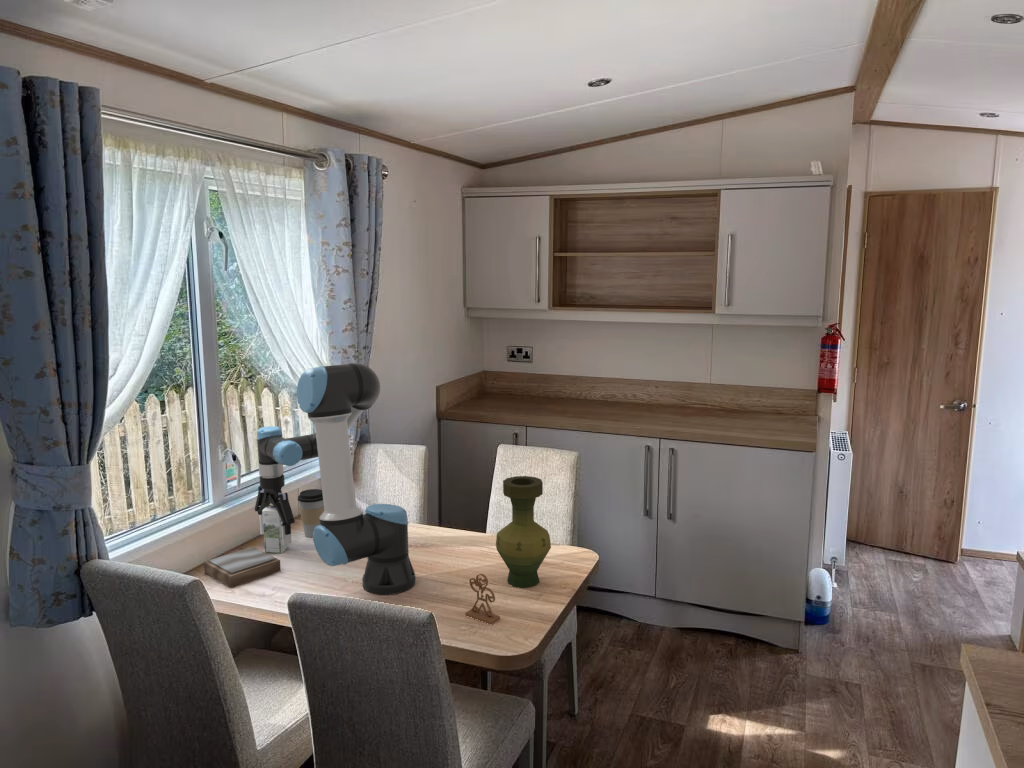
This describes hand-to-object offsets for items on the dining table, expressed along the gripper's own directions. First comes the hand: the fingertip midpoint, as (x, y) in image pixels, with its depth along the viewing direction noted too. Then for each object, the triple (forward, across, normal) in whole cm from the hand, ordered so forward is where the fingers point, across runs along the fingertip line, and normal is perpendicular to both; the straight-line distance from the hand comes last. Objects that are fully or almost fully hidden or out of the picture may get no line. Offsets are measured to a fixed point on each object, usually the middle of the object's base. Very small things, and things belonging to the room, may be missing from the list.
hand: (275, 538), depth 245 cm
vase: (+4, -76, -35) cm, 84 cm away
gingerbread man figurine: (+4, -83, -11) cm, 84 cm away
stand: (+4, -8, +16) cm, 18 cm away
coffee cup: (+4, +3, -16) cm, 17 cm away
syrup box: (+4, 0, 0) cm, 4 cm away
